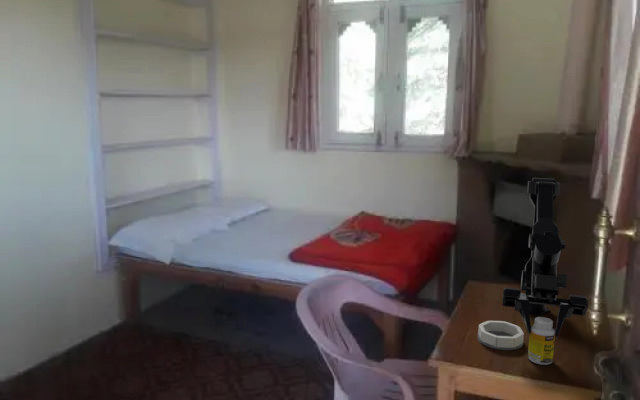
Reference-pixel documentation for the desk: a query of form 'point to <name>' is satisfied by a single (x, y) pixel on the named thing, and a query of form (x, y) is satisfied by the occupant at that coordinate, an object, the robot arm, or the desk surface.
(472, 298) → the desk surface
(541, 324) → the supplement bottle
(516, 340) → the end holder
